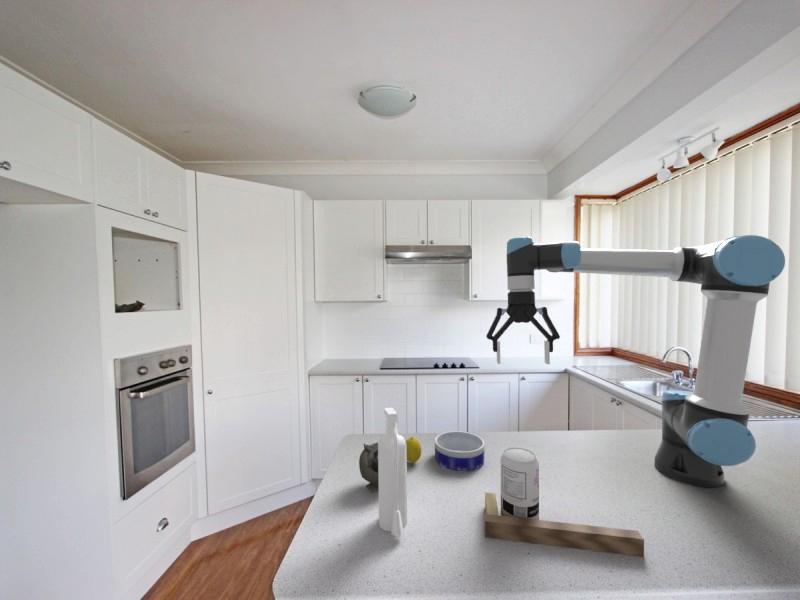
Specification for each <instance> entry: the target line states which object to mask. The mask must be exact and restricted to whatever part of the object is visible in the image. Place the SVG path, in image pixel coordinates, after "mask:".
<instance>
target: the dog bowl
mask: <svg viewBox="0 0 800 600" xmlns="http://www.w3.org/2000/svg"><path fill="white" fill-rule="evenodd" d="M485 445H486V443H485V441H484V439H483V438H482V437H480V436H478V435H477V434H474V433H471V432H467V431H460V430H451V431H450V430H449V431H446V432H445V431H444V432H442V433H439V434H438V435H436V436H435V438H434V457H435V459H434V460H435V462H436V463H437V464H438V465H439V466H440V467H442V468H443V469H447V470H449V471H453V472H461V473H462V472H463V473H465V472H473V471H477V470H479V469H481V468H482V467H483V466H484V464H485V447H486V446H485Z"/></svg>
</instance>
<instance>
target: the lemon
mask: <svg viewBox="0 0 800 600" xmlns="http://www.w3.org/2000/svg"><path fill="white" fill-rule="evenodd" d="M405 442H406V445H407V461H408V462H410V464H414V463H415V462H417V461H418V460H420V458H421V455H422V445H421V443H420V441H419V440H418V439H417V438H415V437H414V436H411V437H409V438H407V439H406V440H405Z"/></svg>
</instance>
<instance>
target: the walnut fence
mask: <svg viewBox="0 0 800 600" xmlns="http://www.w3.org/2000/svg"><path fill="white" fill-rule="evenodd" d="M484 496H485V497H484V505H485V506H484V508H485V513H484V538H486V539H495V540H502V541H504V540H505V541H509V542H510V541H511V542H519V543H527V544H536V545H543V546H550V547H551V546H552V547H559V548H565V549H566V548H567V549H569V548H570V549H574V550H584V551H593V552H599V553H608V554H614V555H615V554H617V555H623V556H631V557H632V556H634V557H639V558H640V557H641V558H645V539H644V537H643V536H642V535H641V533H640V532H639V531H638V530H632V529H625V528H615V527H606V526H597V525H588V524H580V523H579V524H578V523H569V522H561V521H551V520H544V519H543V520H541V519H539V520H535V519H526V518H517V517H508V516H501V515H500V514H499V507H498V500H497V494H496V493H494V492H486V491H485V492H484Z"/></svg>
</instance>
